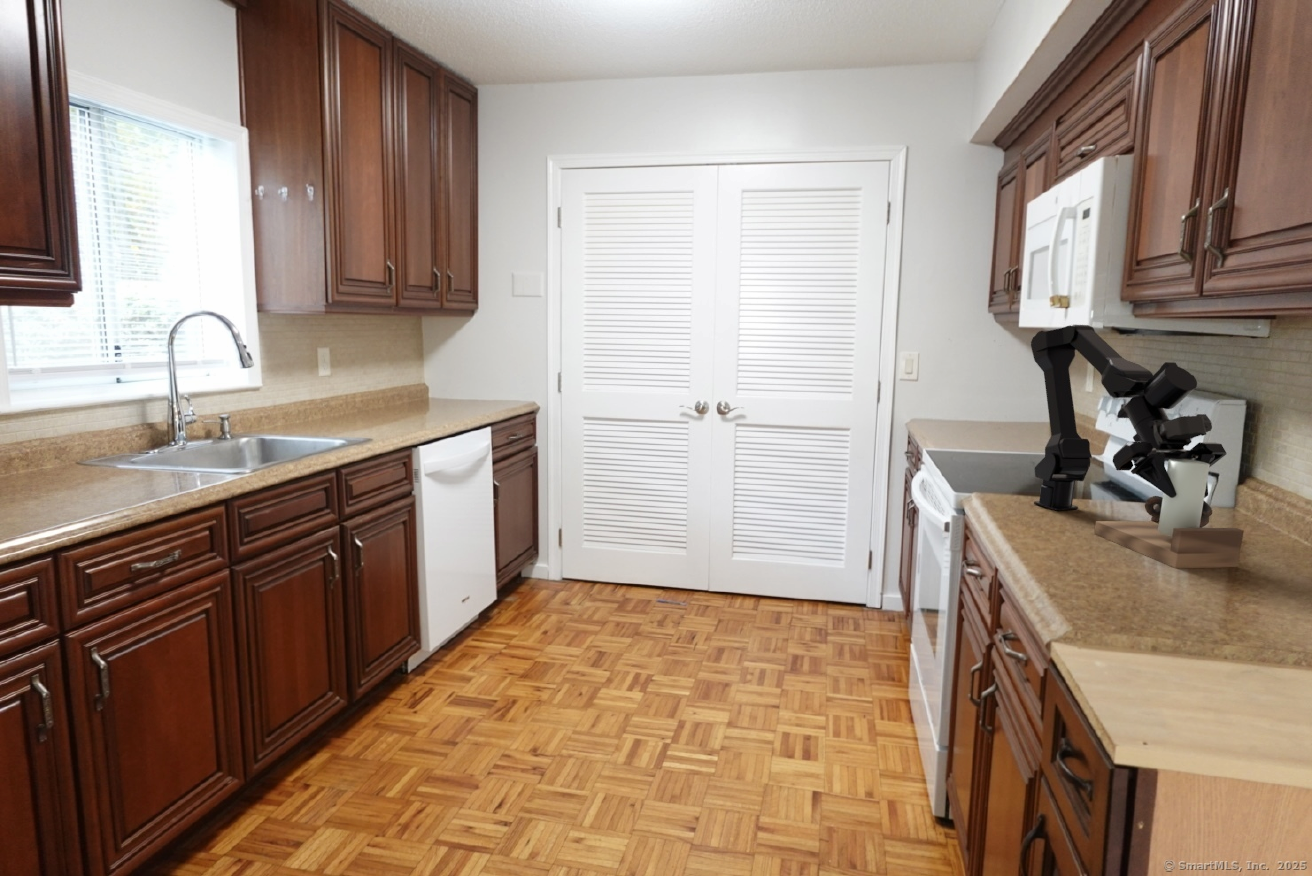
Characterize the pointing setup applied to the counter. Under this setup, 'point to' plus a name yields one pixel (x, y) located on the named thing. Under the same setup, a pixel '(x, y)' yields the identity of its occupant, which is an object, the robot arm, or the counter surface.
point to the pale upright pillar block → (1184, 495)
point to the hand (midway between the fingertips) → (1189, 496)
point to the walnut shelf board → (1158, 544)
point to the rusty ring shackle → (1158, 500)
